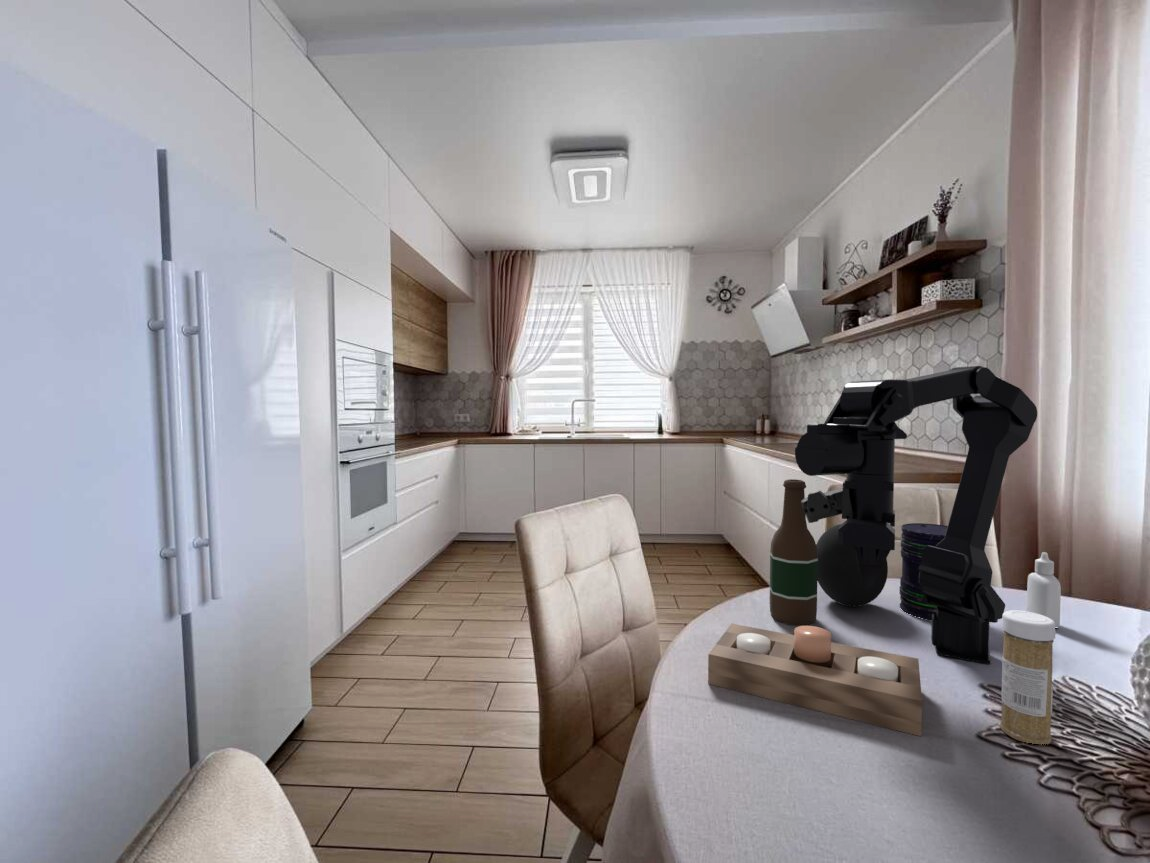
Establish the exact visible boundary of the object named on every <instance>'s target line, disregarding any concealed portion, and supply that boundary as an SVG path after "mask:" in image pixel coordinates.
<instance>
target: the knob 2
mask: <svg viewBox="0 0 1150 863" xmlns="http://www.w3.org/2000/svg"><path fill="white" fill-rule="evenodd" d="M857 674H860V675H865V676H870V677H874V678H879V679H884V680H889V681H893V682H898V667H897V665H896V664H894V663H893V662H891V661H889V660H886V659H883V658H879V657H871V656H866V657H861V658H859V659H858V672H857Z"/></svg>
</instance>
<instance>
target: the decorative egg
mask: <svg viewBox="0 0 1150 863" xmlns="http://www.w3.org/2000/svg"><path fill="white" fill-rule="evenodd" d="M841 524H842V523H840V524H837V525H833V526H831V527H829V528H828V529H826V530H825V531H824V532H823V533H822V534H821V535H820V536H819V539H818V540H817V542H816V546H817V554H818V574H817V584H818V585H819V586H820V588H821V589H822V591H823V592H824V593H825V595H826V596H828V597H829V598H830V599H832V600H833V601H835V602H836V603H838V604H840V605H842V606H848V607H861V606H865V605H867V604H870V603H871V602H873V601H874V600H875V599H877V598H878V596H880V594H881V593H882V592H883V590H884V588H885V585H886V583H887V579H888V574H889V566H888V557H887V558H886V560H885V562H884V564H883V566H882V568H881V570H880V572H879V574H878V576H877V578H876V580H875V582H874V584H873V586H872V587H866V586H863V583H862V578H861V573H860V569H859V564H858V560H857V555H856V551H855V549H854V548H853V547H852V546H844V545H840V544H838V530H839V527H840V525H841Z"/></svg>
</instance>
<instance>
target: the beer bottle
mask: <svg viewBox="0 0 1150 863" xmlns="http://www.w3.org/2000/svg"><path fill="white" fill-rule="evenodd" d="M782 486H783V487H784V491H783V492H784V493H783V505H782V507H783V508H782V518H781V522H780V525H779V527H778V529H777V530H776V531H775V532H774V535H773V537H772V538H771V541H770V550H769V552H770V553H769V555H770V556H769V612H770V614H771V616H772V618H773V620H774V621H777V622H780V623H783V624H785V625H789V626H810V624H813V623H815V622H816V621H817V612H818V581H817V574H818V554H817V546H816V544H817V542H816V540H815V538H814V536H813V535H812V533H811V532H810V530H809V529H808V526H807V524H808V522H807V517H806V514H804V513H803V506H802V503H801V501H802V500H803V499H804V498H806V495H805V493H806V492H805V489H806V488H807V485H806V482H805V481H804V480H802V479H796V478H795V479H792V478H791V479H785V480H784V481H783V484H782Z"/></svg>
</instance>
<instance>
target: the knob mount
mask: <svg viewBox="0 0 1150 863" xmlns="http://www.w3.org/2000/svg"><path fill="white" fill-rule="evenodd" d="M743 633H755V634H760V635H763V636H765V637H767V638H769V639H770V654H769V655H765V654H760V653H755V652H750V651H746V650H741V649H737V636H738V635H740V634H743ZM707 655H708V658H707V660H708V663H707V664H708V666H707V668H708V670H707V671H708V673H707V679H708V680H707V681H708V682H707V683H708V685H712V686H716V687H721V688H724V689H729V690H731V691H737V692H739V693H740V692H741V693H744V694H747V695H753V696H756V697H760V698H765V699H769V700H773V701H776V702H781V703H783V704H784V703H785V704H788V705H789V704H790V705H793V706H797V707H801V708H805V709H810V710H814V711H818V712H821V713H826V714H829V715H834V716H837V717H842V718H846V719H850V720H854V721H858V722H863V723H866V724H871V725H874V726H878V727H882V728H887V729H891V730H895V731H899V732H903V733H906V734H911V735H915V736H919V737H922V729H923V728H922V724H923V723H922V722H923V721H922V720H923V716H922V715H923V697H922V696H923V694H922V686H921V684H922V683H921V674H920V663H919V662H920V661H919V658H916V657H912V656H906V655H902V654H896V653H891V652H884V651H879V650H874V649H870V648H864V647H859V646H858V647H857V646H853V645H847V644H842V643H837V642H833V641H831V659H830V660H829V661H827V662H810V661H806V660H803V659H801V658H799V657H797V656H796V655H795V653H794V634H790V633H789V634H788V633H785V632H779V631H774V630H769V629H763V628H758V627H752V626H748V625H743V624H737V623H731V624H730V625H728V628H727V629H726V630H725V632H724V633H723V634H722V635H721V636H720V638H719V639H718V640H717V642H715V645H713V647H712V648H711V650H710V651H709V652H708V653H707ZM866 656H871V657H879V658H883V659H886V660H889V661H891V662H893V663H894V664H896V665H897V667H898V682H893V681H889V680H884V679H879V678H874V677H870V676H865V675H860V674H857V672H858V659H859V658H861V657H866Z"/></svg>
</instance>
